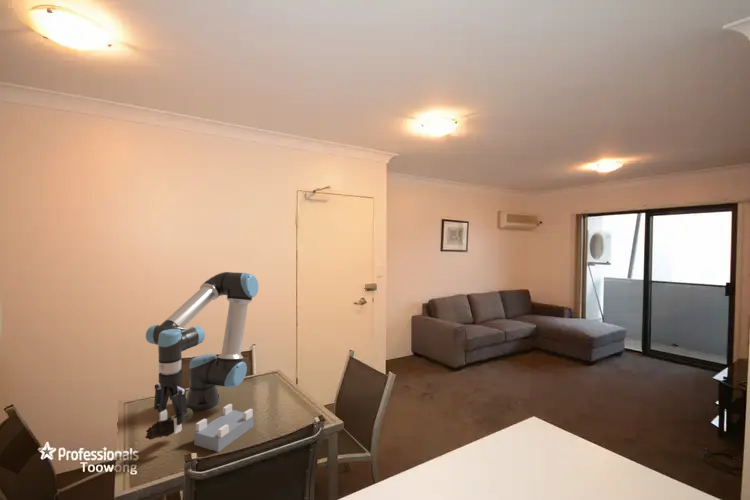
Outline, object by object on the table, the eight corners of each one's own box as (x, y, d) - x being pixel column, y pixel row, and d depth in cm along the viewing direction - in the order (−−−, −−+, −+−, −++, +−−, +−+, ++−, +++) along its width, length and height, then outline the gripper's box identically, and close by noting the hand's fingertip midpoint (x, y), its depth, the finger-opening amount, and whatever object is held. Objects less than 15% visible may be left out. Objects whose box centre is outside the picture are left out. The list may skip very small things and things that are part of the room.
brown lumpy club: (184, 417, 145) (184, 403, 145) (197, 420, 143) (197, 407, 142) (143, 440, 128) (143, 425, 128) (156, 445, 126) (156, 429, 126)
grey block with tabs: (193, 444, 138) (194, 424, 138) (230, 420, 157) (231, 402, 157) (218, 452, 134) (219, 431, 134) (253, 426, 153) (254, 408, 153)
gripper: (142, 370, 134) (142, 429, 135) (181, 379, 127) (181, 441, 128) (160, 363, 141) (160, 419, 142) (198, 371, 134) (198, 430, 135)
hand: (170, 429), depth 135 cm, fingers closed on brown lumpy club, 7 cm apart
